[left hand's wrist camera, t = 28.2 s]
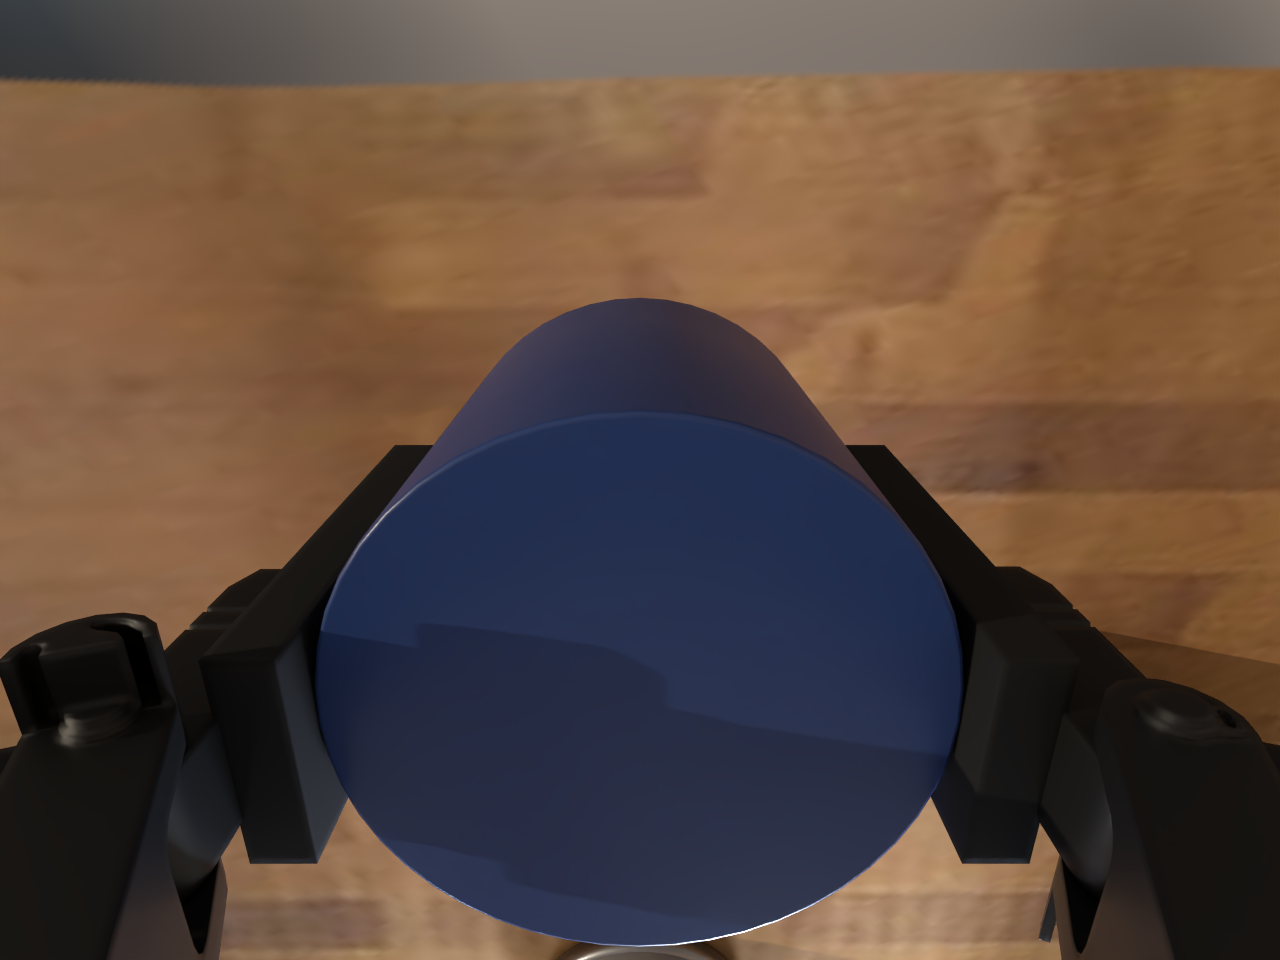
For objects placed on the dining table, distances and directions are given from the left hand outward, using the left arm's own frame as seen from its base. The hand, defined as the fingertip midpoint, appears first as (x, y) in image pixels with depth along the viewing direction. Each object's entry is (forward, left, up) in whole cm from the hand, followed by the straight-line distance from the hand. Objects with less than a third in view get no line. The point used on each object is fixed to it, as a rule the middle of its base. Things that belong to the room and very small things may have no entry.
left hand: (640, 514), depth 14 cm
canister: (0, 0, -2) cm, 2 cm away
